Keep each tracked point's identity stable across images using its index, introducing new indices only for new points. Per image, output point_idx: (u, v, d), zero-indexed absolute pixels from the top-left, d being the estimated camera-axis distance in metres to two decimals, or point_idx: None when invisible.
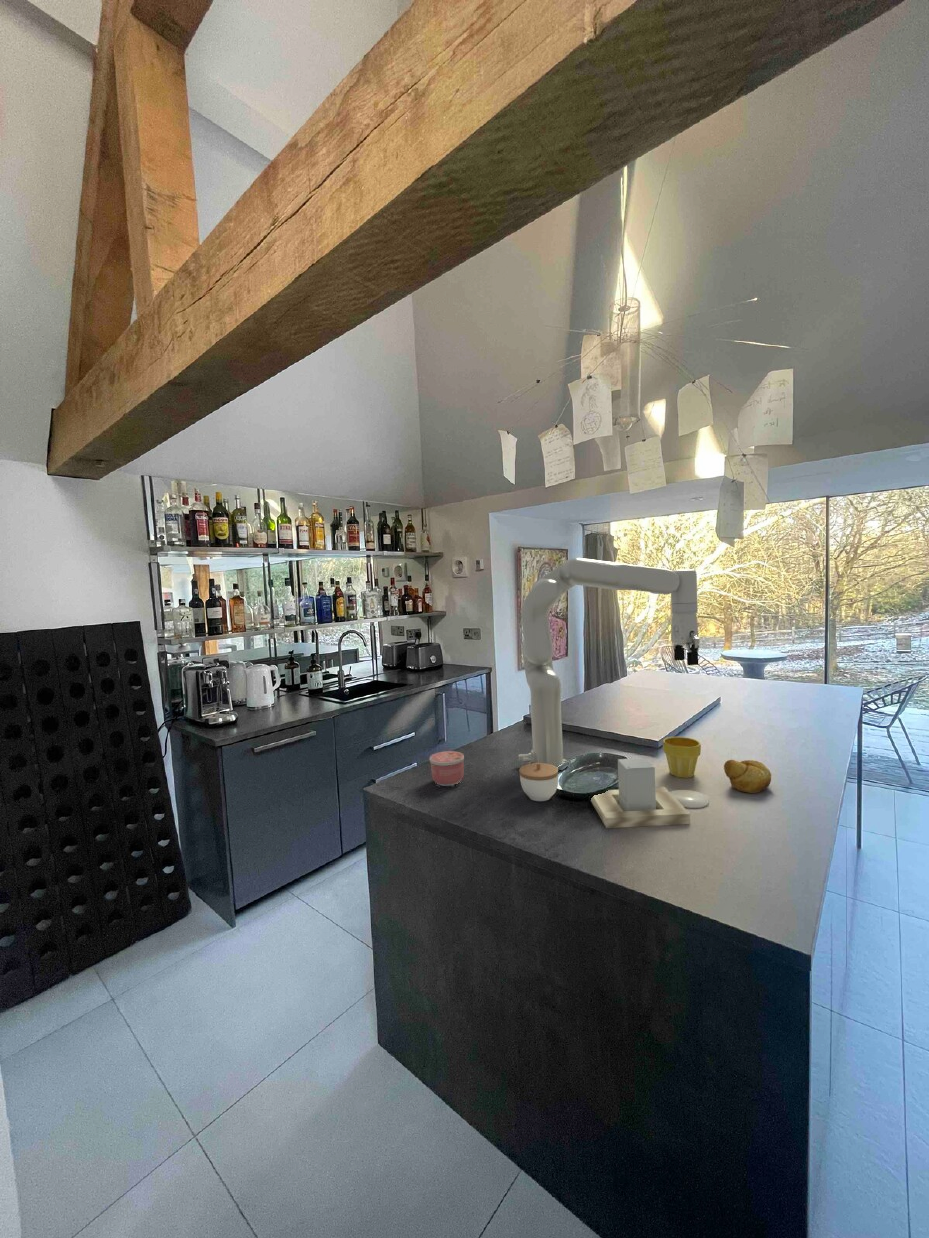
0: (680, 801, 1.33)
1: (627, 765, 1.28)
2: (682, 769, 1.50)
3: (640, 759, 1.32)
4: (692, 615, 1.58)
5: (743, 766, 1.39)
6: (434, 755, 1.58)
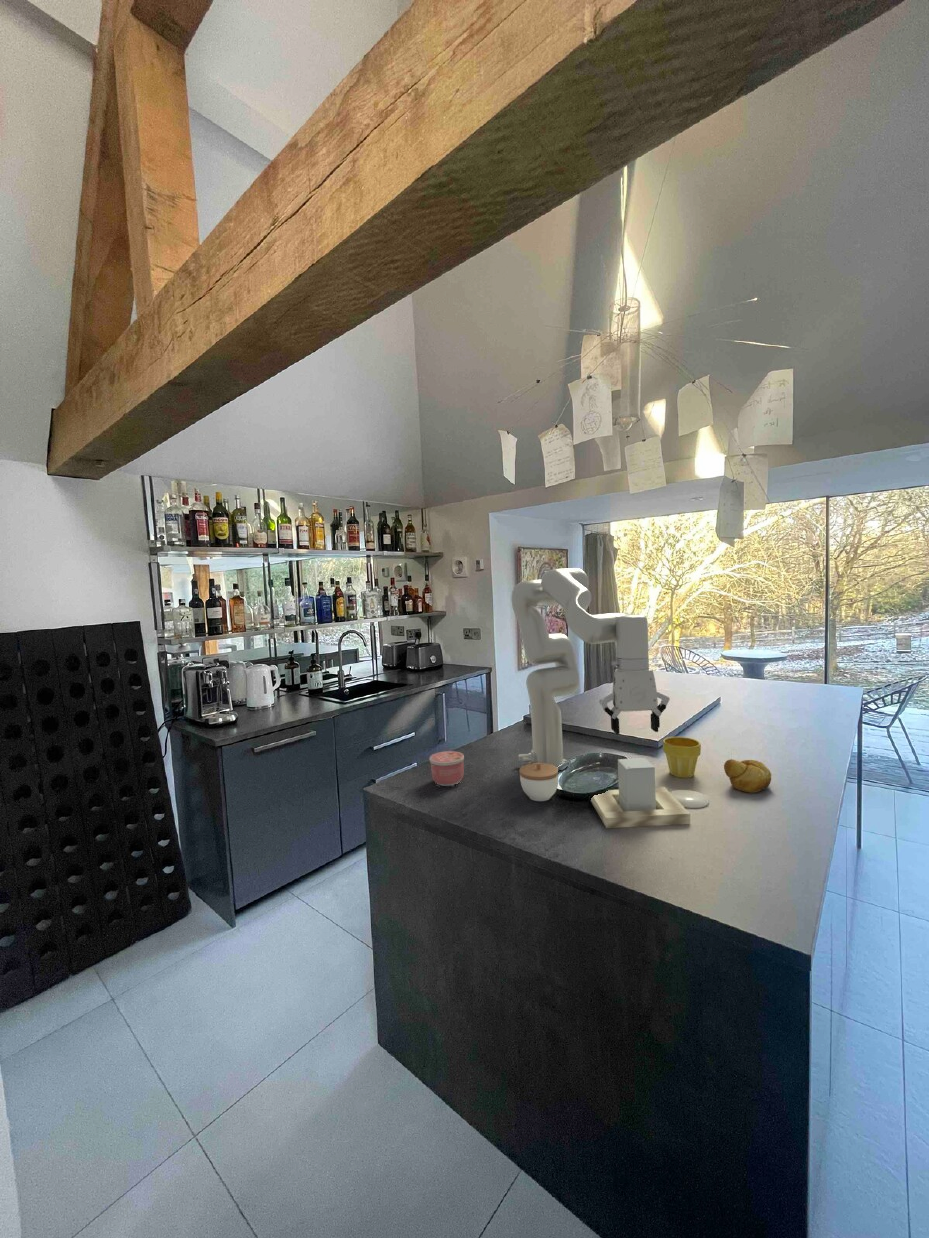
0: (680, 801, 1.33)
1: (627, 765, 1.28)
2: (682, 769, 1.50)
3: (640, 759, 1.32)
4: None
5: (743, 766, 1.39)
6: (434, 755, 1.58)
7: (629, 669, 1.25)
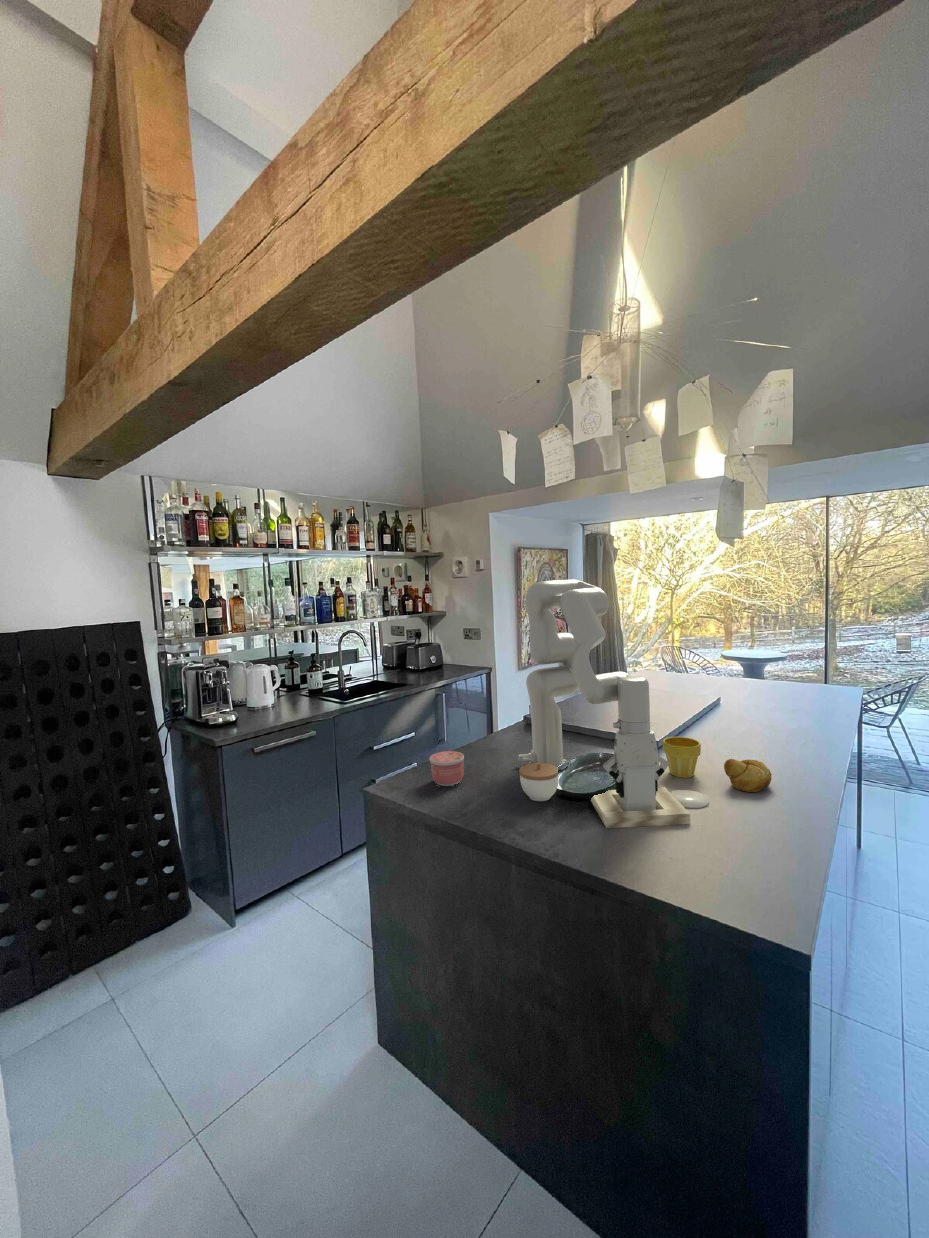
0: (680, 801, 1.33)
1: None
2: (682, 769, 1.50)
3: None
4: None
5: (743, 765, 1.40)
6: (434, 755, 1.58)
7: (630, 732, 1.26)
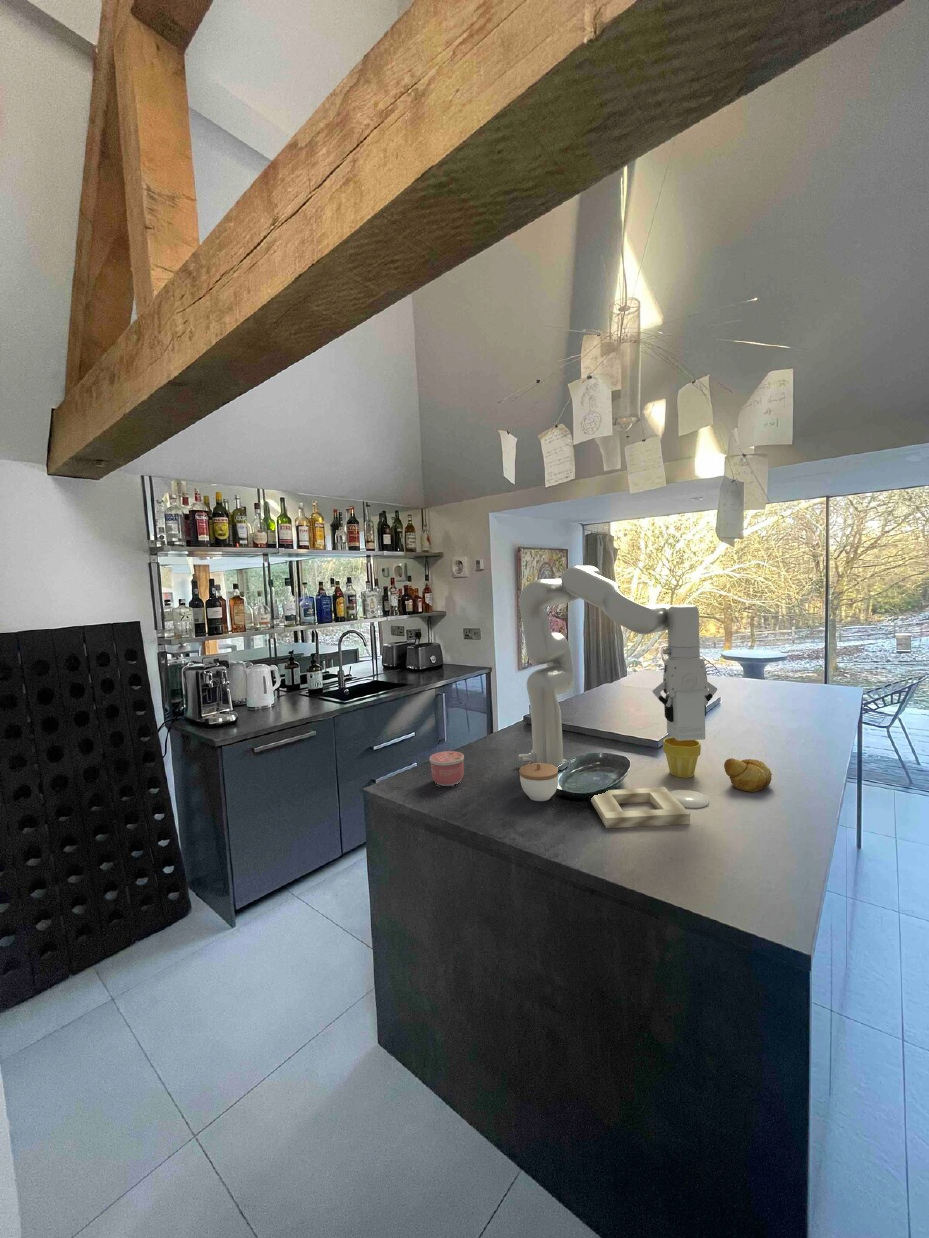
0: (680, 801, 1.33)
1: None
2: (682, 769, 1.50)
3: None
4: None
5: (743, 765, 1.40)
6: (434, 755, 1.58)
7: (681, 657, 1.30)
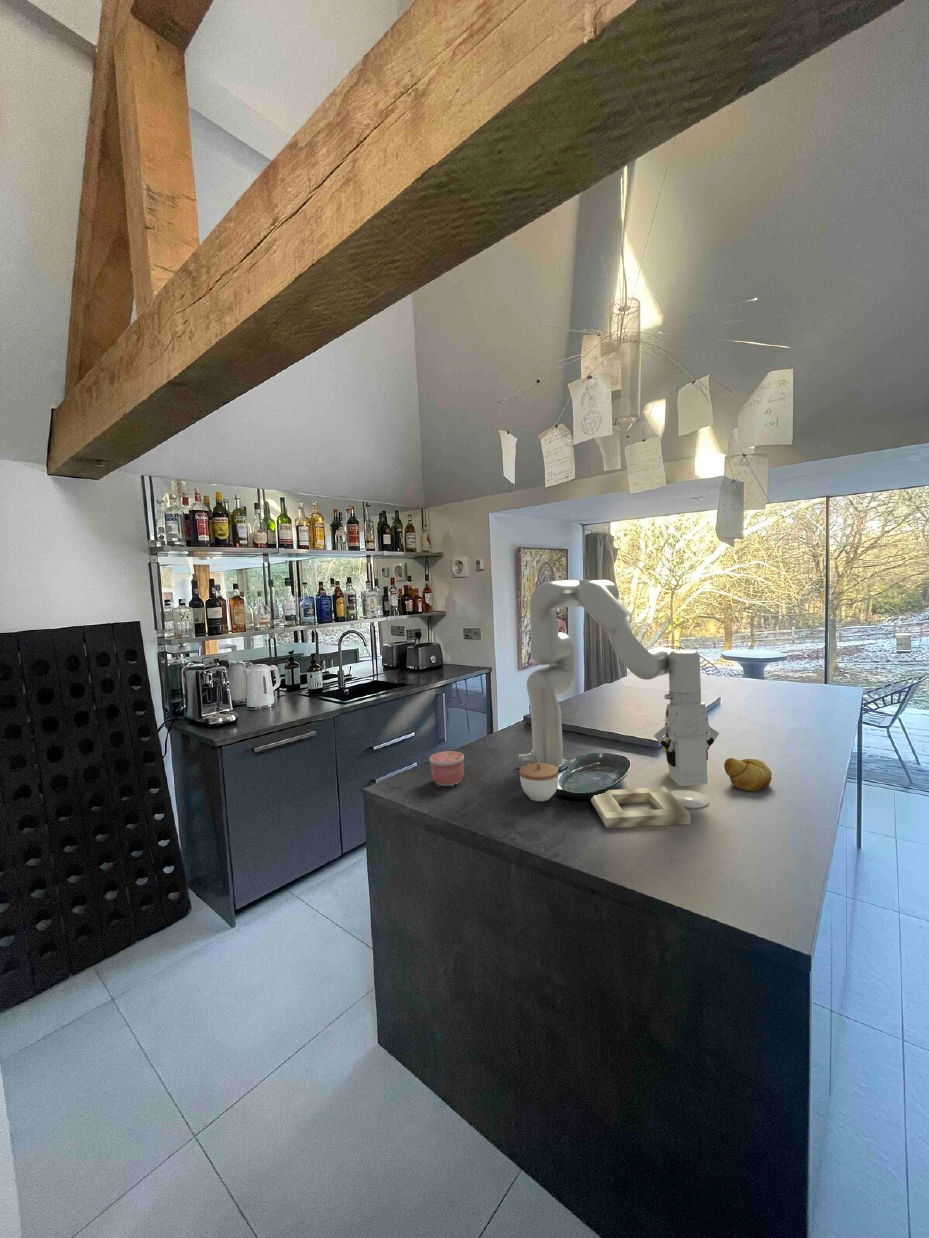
0: (680, 801, 1.33)
1: None
2: None
3: None
4: None
5: (743, 764, 1.40)
6: (434, 755, 1.58)
7: (683, 703, 1.31)
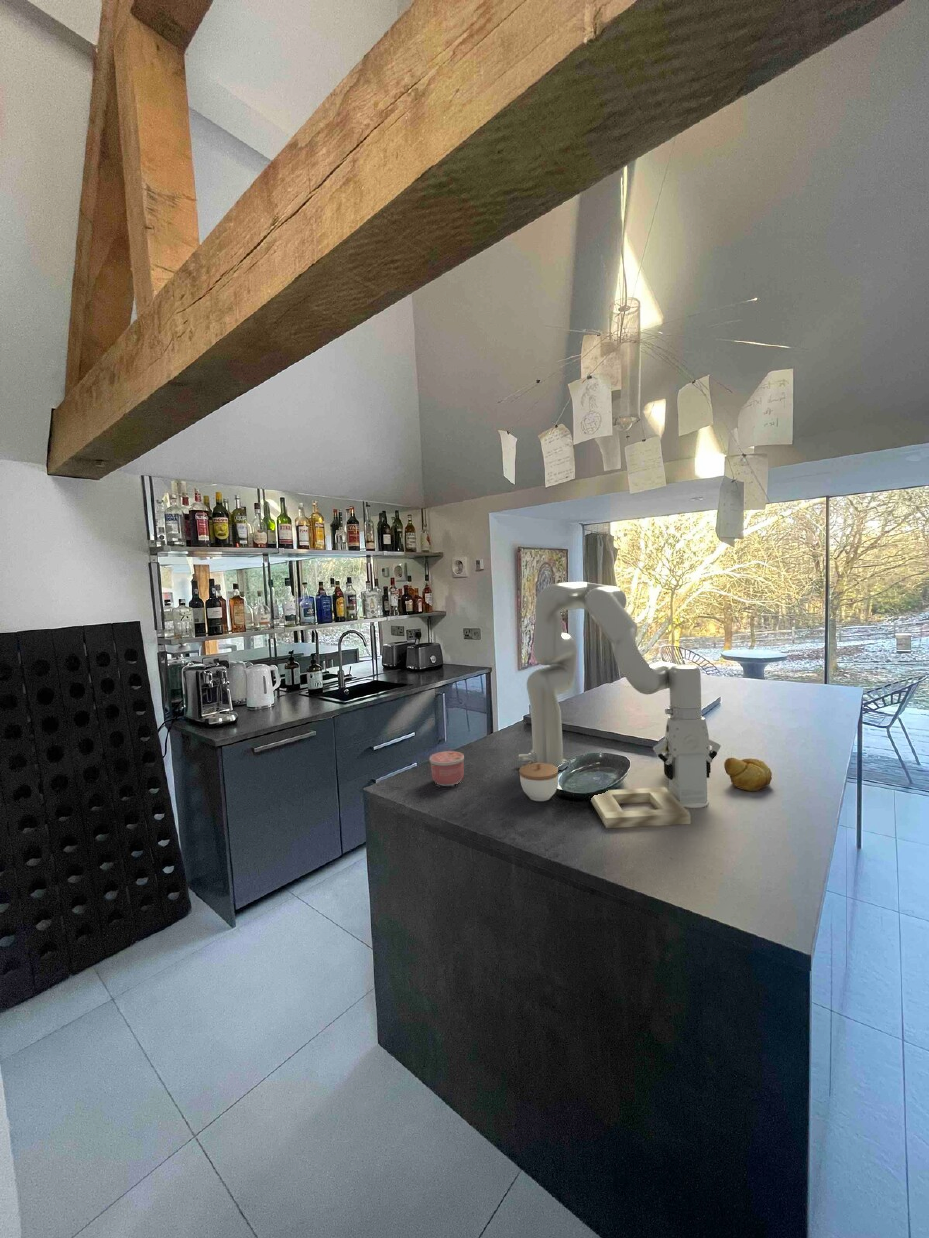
0: None
1: None
2: None
3: None
4: None
5: (743, 764, 1.41)
6: (434, 755, 1.58)
7: (683, 718, 1.31)
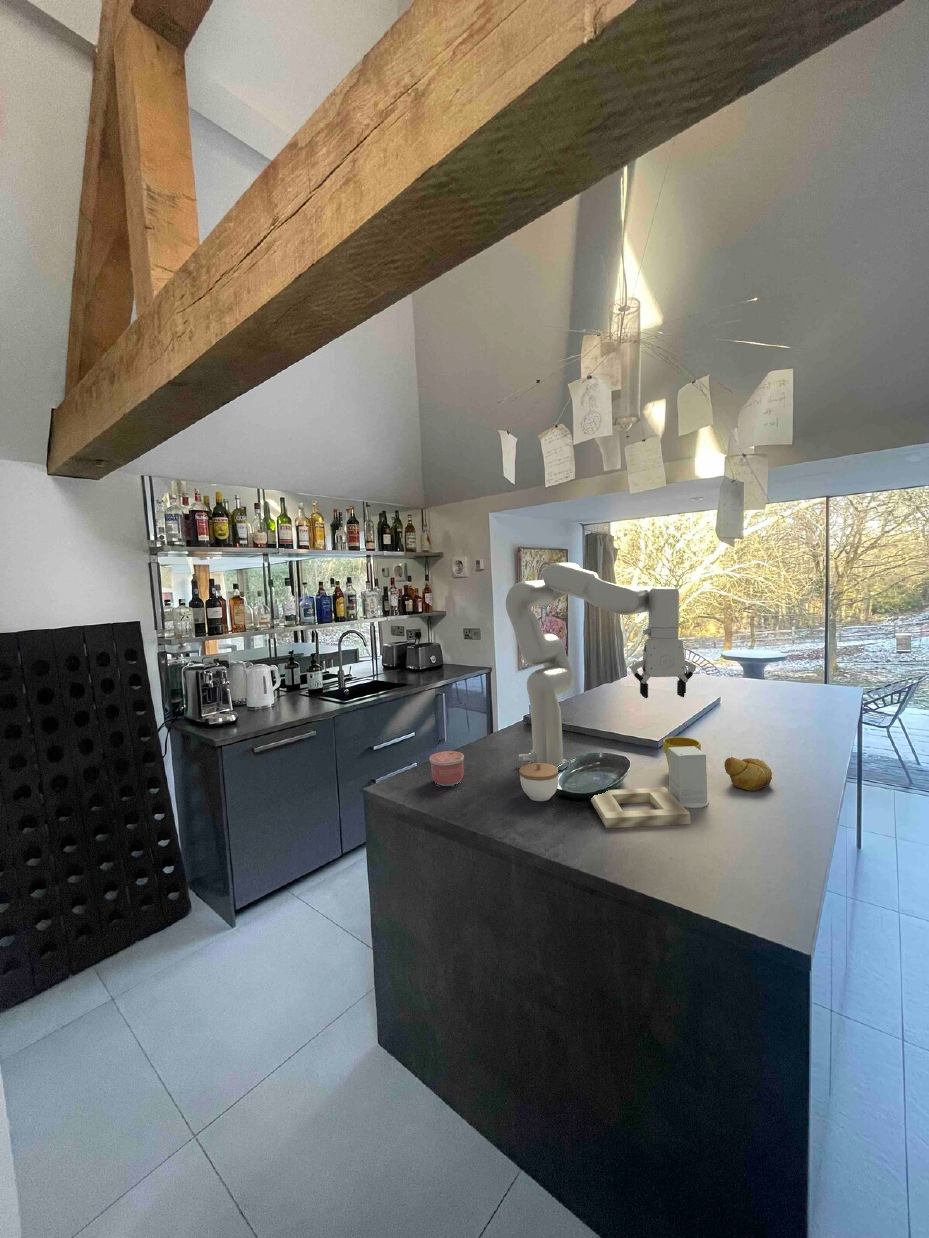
0: None
1: (679, 753, 1.33)
2: None
3: (690, 748, 1.37)
4: None
5: (743, 764, 1.41)
6: (434, 755, 1.58)
7: (660, 637, 1.34)
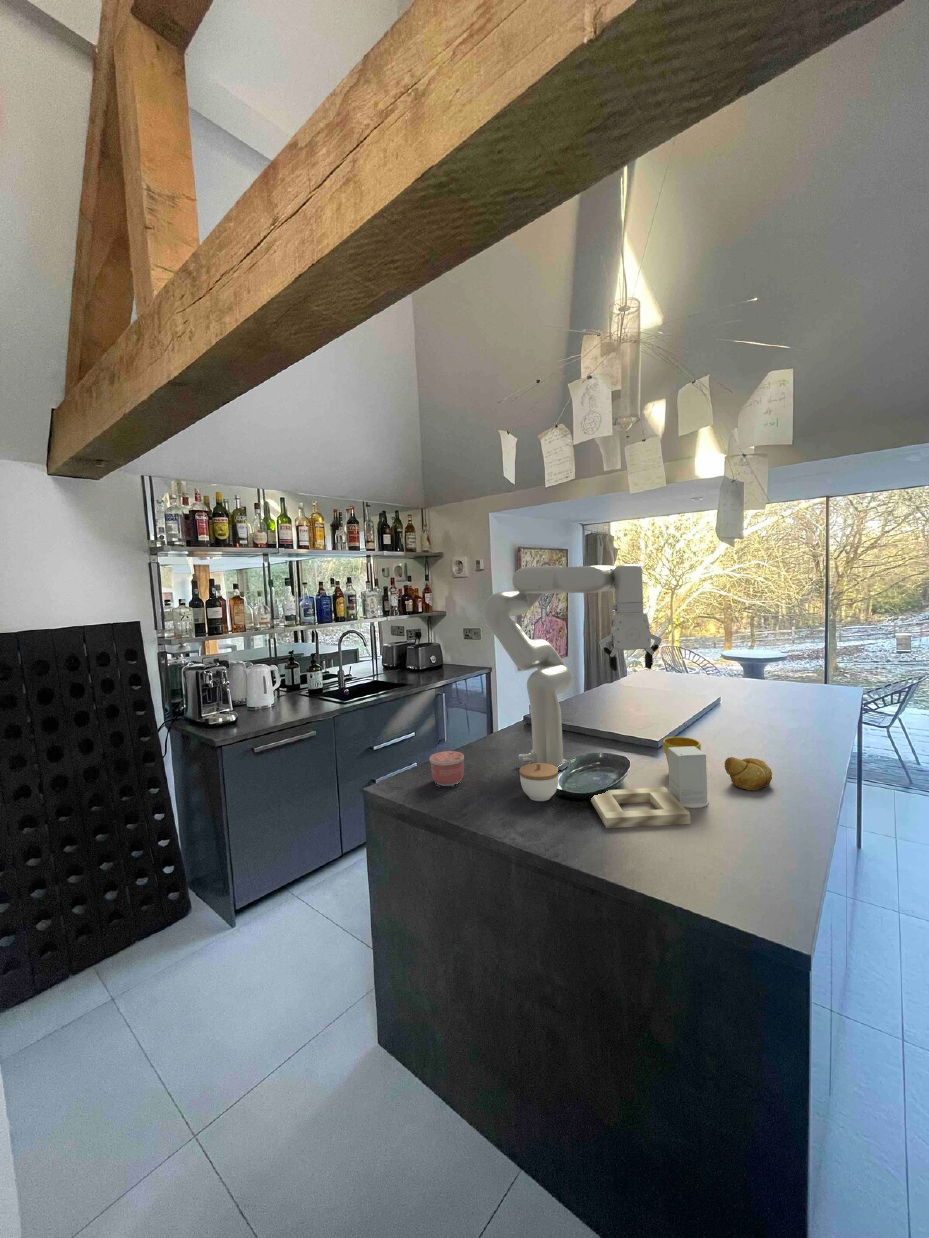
0: None
1: (679, 753, 1.33)
2: None
3: (690, 748, 1.37)
4: None
5: (743, 764, 1.41)
6: (434, 755, 1.58)
7: (625, 612, 1.41)
